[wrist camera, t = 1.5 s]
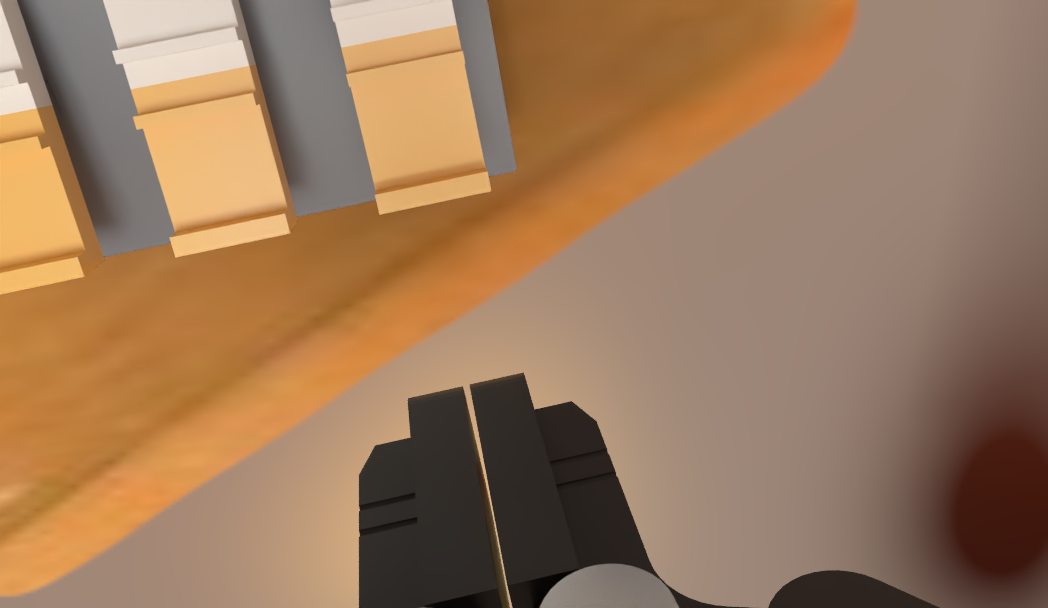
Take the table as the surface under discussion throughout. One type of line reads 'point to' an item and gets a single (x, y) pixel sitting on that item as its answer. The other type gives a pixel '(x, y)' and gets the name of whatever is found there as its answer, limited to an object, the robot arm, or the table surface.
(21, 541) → the table surface
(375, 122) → the switch
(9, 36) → the switch
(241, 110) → the switch middle
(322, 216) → the table surface
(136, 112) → the switch panel
